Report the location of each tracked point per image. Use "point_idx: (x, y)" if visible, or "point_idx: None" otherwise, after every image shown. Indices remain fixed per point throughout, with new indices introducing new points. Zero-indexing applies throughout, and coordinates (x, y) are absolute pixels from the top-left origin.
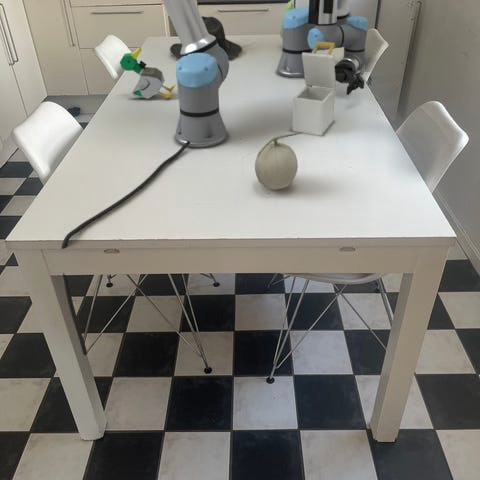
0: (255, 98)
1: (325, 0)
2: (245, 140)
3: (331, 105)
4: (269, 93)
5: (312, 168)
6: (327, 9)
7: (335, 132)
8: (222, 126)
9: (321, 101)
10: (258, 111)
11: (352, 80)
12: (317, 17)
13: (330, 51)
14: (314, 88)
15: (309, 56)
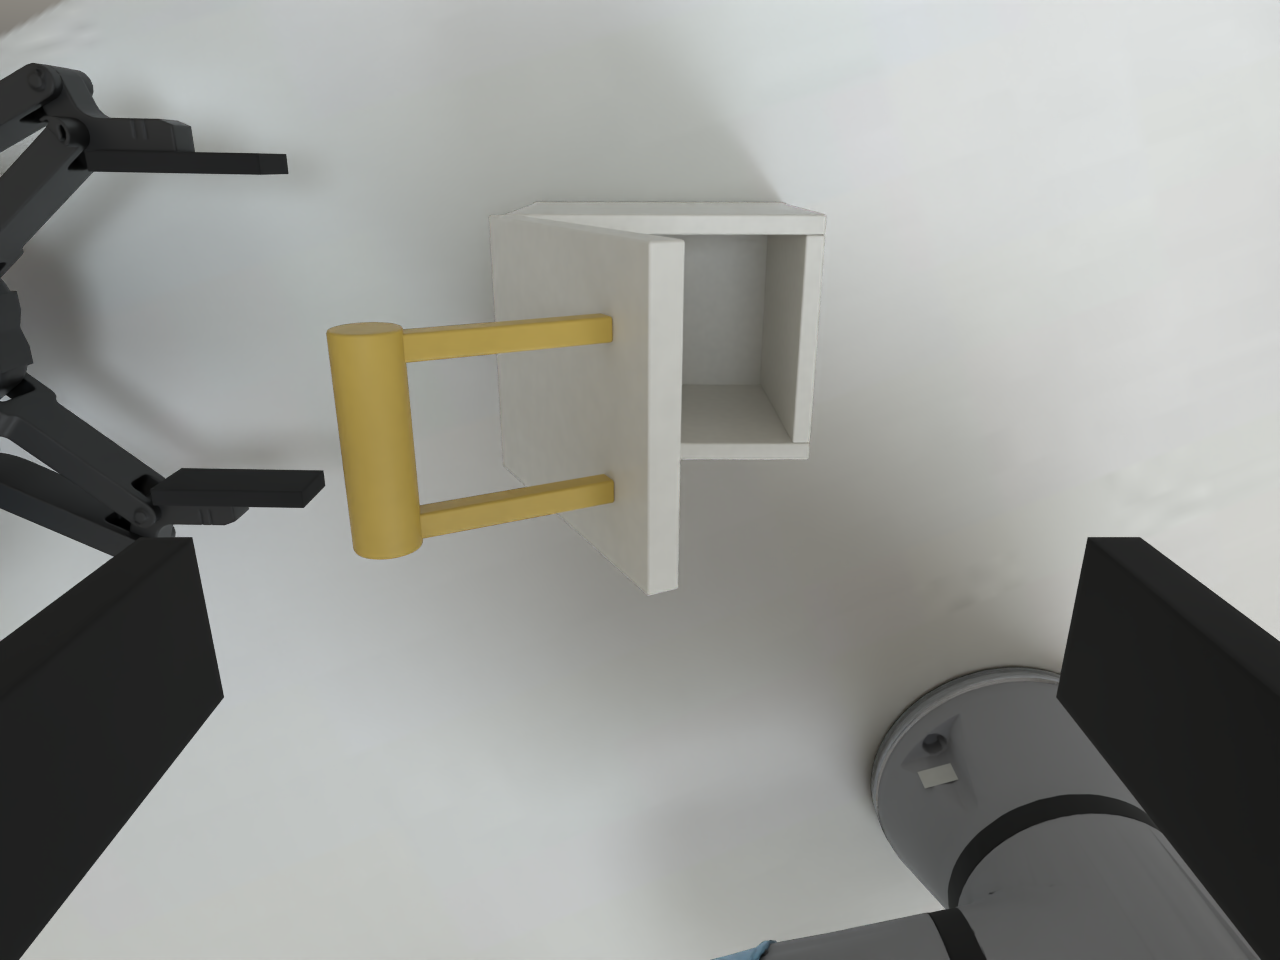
0: (385, 745)
1: (79, 837)
2: (972, 577)
3: (595, 208)
4: (269, 708)
5: (1253, 107)
6: (170, 666)
7: (702, 129)
8: (1025, 721)
9: (819, 238)
10: (565, 662)
11: (51, 183)
12: (1209, 605)
13: (482, 333)
14: None
15: (675, 505)
